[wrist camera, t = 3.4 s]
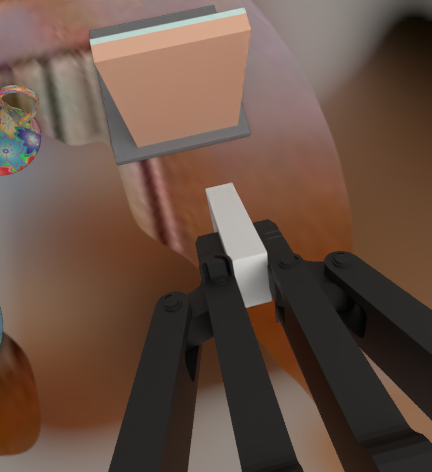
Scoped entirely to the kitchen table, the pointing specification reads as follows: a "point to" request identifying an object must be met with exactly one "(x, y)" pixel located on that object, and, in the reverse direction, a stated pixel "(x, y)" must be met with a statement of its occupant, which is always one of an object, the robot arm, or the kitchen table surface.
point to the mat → (130, 152)
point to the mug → (17, 132)
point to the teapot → (1, 326)
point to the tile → (177, 75)
